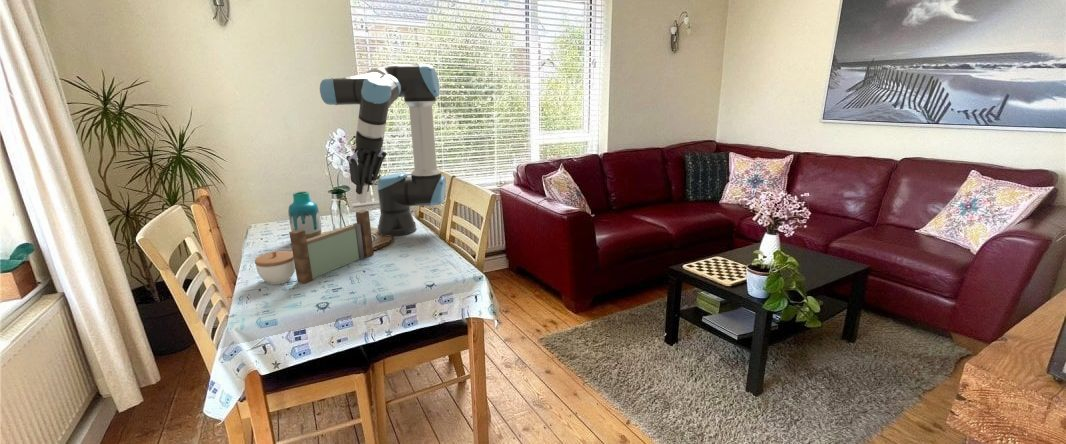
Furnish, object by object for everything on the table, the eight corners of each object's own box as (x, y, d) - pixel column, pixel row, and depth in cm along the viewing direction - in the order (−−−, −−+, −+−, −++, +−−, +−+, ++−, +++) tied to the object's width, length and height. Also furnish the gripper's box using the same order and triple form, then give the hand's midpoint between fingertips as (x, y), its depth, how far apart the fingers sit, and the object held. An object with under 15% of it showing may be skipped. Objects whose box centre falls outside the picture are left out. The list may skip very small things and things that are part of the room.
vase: (299, 247, 171) (291, 197, 166) (288, 241, 178) (280, 193, 173) (328, 240, 178) (320, 192, 173) (316, 235, 185) (309, 188, 180)
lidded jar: (282, 289, 135) (276, 259, 133) (250, 286, 138) (244, 256, 135) (306, 274, 146) (301, 246, 143) (276, 272, 148) (271, 245, 145)
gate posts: (367, 253, 164) (362, 209, 159) (373, 254, 163) (368, 210, 158) (297, 282, 140) (289, 232, 136) (304, 283, 139) (296, 233, 134)
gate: (360, 255, 161) (356, 222, 158) (365, 256, 160) (361, 223, 157) (308, 277, 143) (302, 240, 139) (313, 278, 142) (307, 241, 138)
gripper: (380, 124, 139) (370, 190, 151) (342, 129, 129) (334, 200, 141) (396, 135, 136) (385, 201, 148) (360, 142, 126) (350, 212, 138)
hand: (360, 201), depth 144 cm, fingers closed
